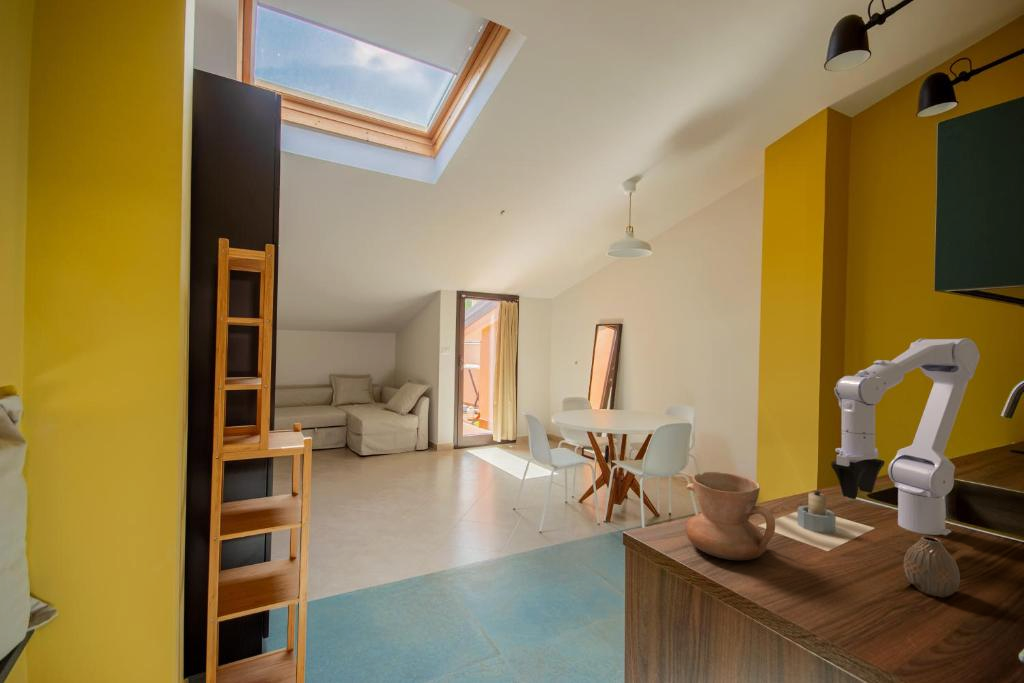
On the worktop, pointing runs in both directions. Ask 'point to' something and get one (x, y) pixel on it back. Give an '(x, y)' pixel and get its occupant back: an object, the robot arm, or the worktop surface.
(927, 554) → the vase
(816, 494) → the wick peg
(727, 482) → the ceramic jug
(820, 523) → the grey faceted ring
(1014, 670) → the worktop surface
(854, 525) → the board
